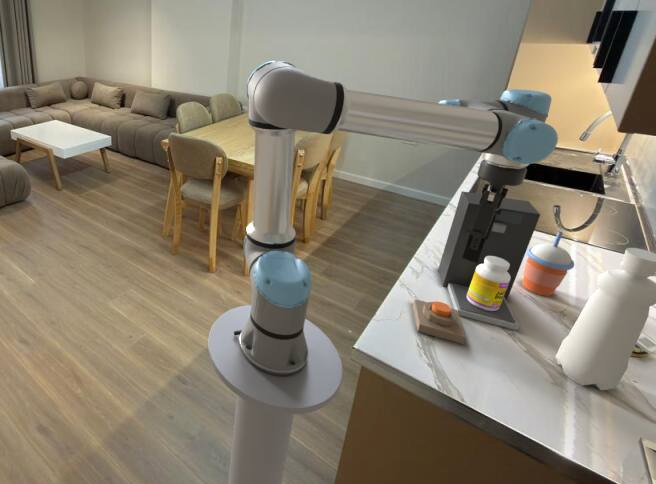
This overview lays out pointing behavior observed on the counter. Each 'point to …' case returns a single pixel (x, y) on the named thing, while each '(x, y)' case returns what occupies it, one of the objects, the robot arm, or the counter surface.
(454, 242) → the coffee maker
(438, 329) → the control block
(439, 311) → the button
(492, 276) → the supplement bottle
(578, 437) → the counter surface
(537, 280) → the cup with straw
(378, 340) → the counter surface
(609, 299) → the bottle
